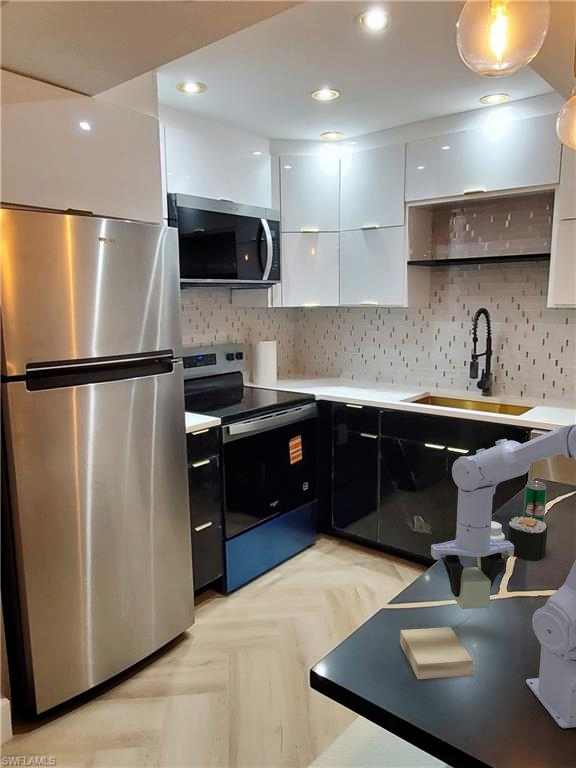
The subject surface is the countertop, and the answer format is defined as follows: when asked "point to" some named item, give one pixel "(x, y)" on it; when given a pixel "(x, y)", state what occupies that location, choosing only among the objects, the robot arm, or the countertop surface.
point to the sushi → (528, 538)
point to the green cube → (473, 589)
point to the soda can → (535, 500)
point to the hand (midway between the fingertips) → (470, 593)
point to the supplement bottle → (494, 537)
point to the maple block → (435, 653)
